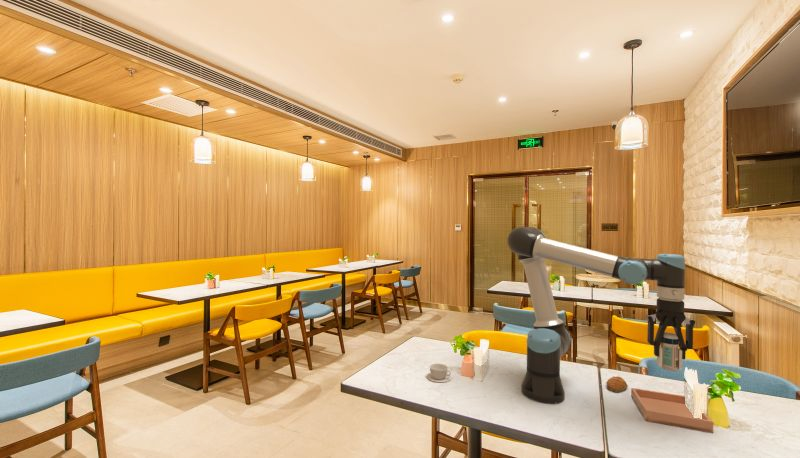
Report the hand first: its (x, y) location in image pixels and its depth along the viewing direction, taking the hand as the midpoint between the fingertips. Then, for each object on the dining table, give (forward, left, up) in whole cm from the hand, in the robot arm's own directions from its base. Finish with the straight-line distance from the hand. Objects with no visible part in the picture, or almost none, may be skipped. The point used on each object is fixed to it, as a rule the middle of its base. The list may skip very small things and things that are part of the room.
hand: (669, 366), depth 119 cm
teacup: (-80, -3, -16) cm, 82 cm away
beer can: (0, 0, -1) cm, 1 cm away
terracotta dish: (0, 0, -16) cm, 16 cm away
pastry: (-12, +16, -17) cm, 26 cm away
